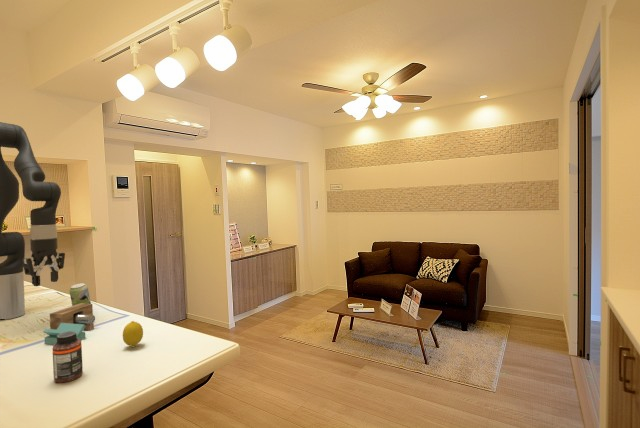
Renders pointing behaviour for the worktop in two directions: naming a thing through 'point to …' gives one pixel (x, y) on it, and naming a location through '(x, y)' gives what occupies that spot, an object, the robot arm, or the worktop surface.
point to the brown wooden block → (71, 315)
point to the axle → (83, 318)
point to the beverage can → (79, 294)
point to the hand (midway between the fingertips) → (45, 283)
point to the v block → (64, 328)
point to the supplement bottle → (67, 357)
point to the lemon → (132, 333)
